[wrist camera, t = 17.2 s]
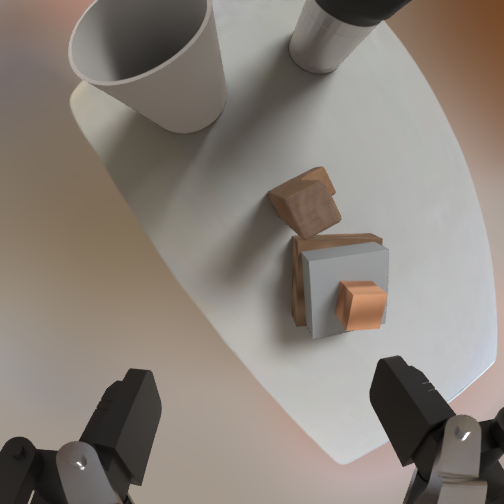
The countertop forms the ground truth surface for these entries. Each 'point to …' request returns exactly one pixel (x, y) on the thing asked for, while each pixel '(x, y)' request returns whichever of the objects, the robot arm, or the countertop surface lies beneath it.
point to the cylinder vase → (154, 59)
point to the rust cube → (360, 305)
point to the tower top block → (328, 281)
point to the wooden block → (306, 203)
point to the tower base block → (315, 244)
